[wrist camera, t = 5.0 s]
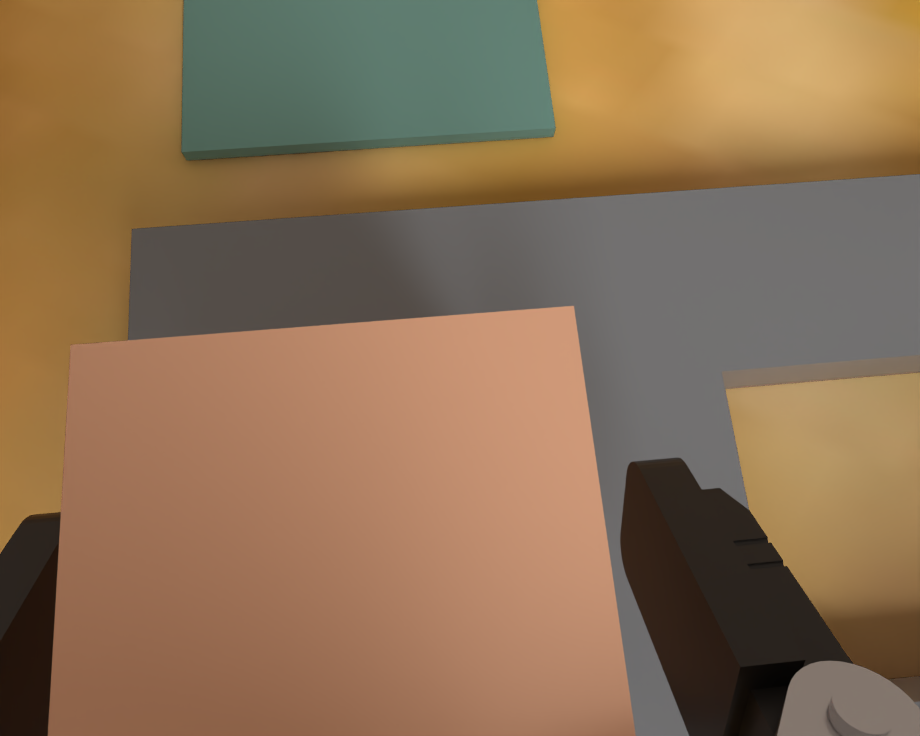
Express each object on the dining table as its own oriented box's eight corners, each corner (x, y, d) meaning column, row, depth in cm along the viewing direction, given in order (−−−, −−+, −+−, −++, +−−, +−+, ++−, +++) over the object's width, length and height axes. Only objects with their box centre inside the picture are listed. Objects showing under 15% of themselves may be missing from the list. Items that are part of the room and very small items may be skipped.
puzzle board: (980, 205, 19) (1043, 165, 17) (1196, 878, 15) (1312, 928, 13) (165, 264, 18) (132, 228, 16) (150, 1011, 13) (101, 1089, 11)
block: (495, 449, 17) (573, 306, 7) (519, 669, 15) (655, 871, 6) (289, 467, 16) (70, 344, 7) (295, 692, 15) (36, 946, 5)
